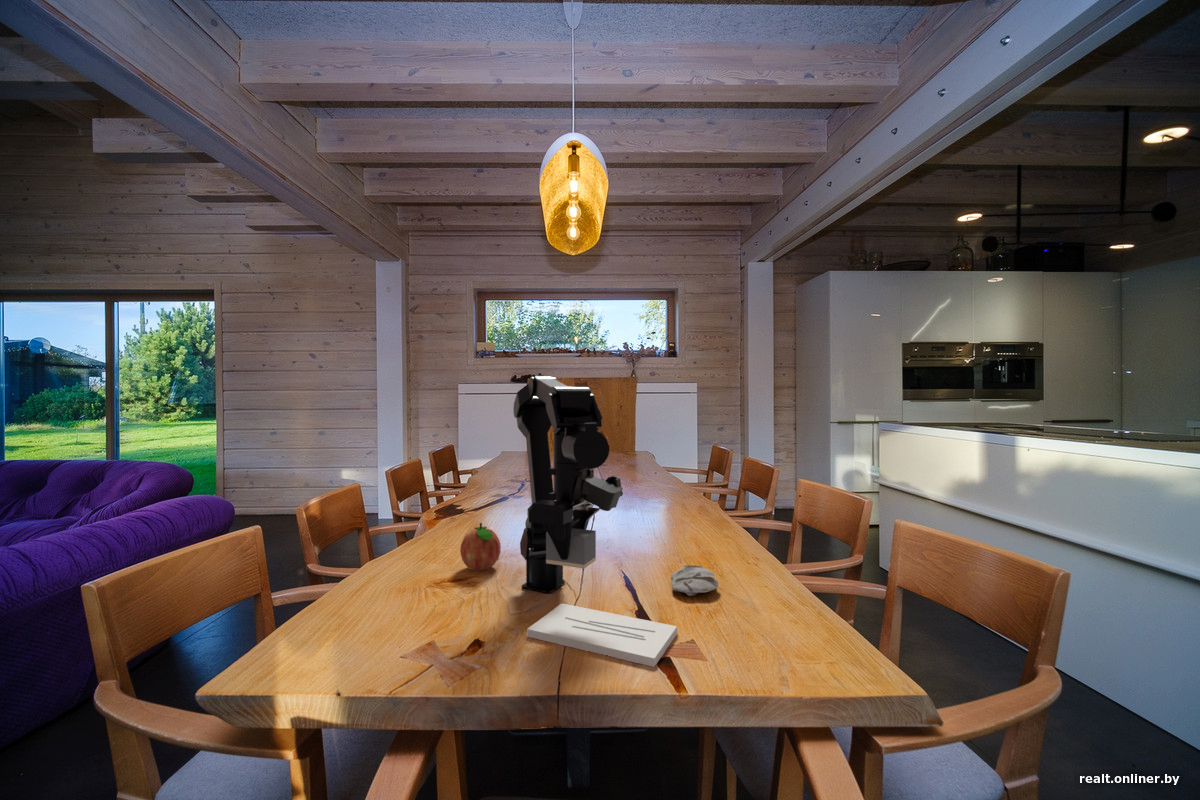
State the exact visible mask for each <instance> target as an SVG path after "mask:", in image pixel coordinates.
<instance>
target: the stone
mask: <svg viewBox="0 0 1200 800" xmlns="http://www.w3.org/2000/svg"><path fill="white" fill-rule="evenodd" d="M670 580H671V583H670V586H671V588H672V589H673V590H674V591H675V592H680V593H685V594H686V595H687V597H694V596H696V595H698V594H699V593H701V594H702V593H708V592H711V591H714V590H716V589H717V587H718V586H719V582H718V580H717V579H716V577H715V574H714V572H713V571H711V570H709V569H707V568H704V567H703V566H702V565H694V564H693V565H692V564H686V565H684V566H683V567H682V568H680V569H679V570H675V571H674V572H672V573H671V579H670Z"/></svg>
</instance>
